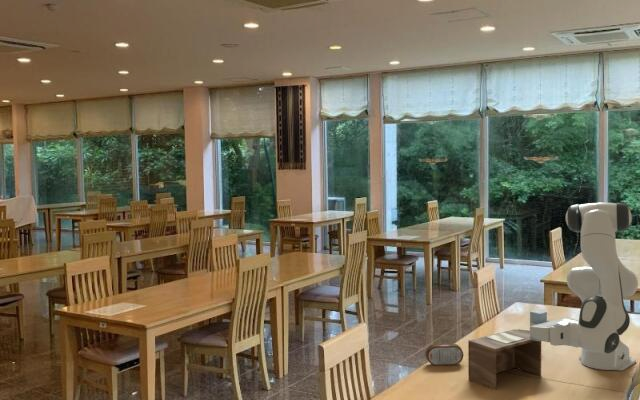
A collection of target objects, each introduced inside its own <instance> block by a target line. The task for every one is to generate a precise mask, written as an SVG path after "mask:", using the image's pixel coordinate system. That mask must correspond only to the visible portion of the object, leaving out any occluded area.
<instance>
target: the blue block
mask: <svg viewBox="0 0 640 400" xmlns="http://www.w3.org/2000/svg"><path fill="white" fill-rule="evenodd" d="M547 316H548V313H547V311H545V310H539V309H536V310H531V311H529V324H530V323H533V322H534V323H537V324H541V323H545V322H547V321H548V317H547ZM530 339H532V340H535V341H539V342H540V341H541V340H538V339H535V338H533V337H531V336H530ZM541 342H542V341H541Z"/></svg>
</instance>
